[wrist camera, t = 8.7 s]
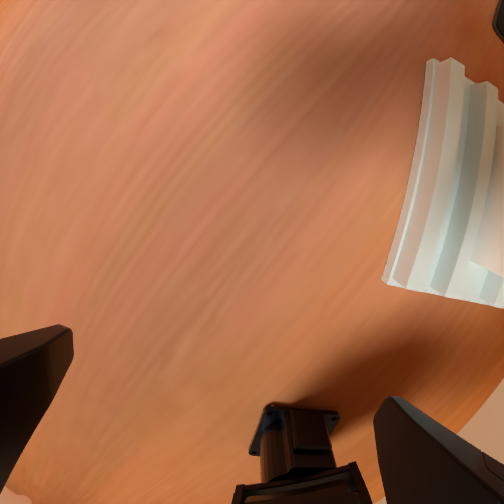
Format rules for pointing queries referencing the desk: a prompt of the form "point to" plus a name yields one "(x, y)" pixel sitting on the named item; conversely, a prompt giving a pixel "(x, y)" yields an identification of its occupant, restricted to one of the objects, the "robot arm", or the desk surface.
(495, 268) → the white rectangular block
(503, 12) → the smartphone
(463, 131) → the rack
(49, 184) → the desk surface
